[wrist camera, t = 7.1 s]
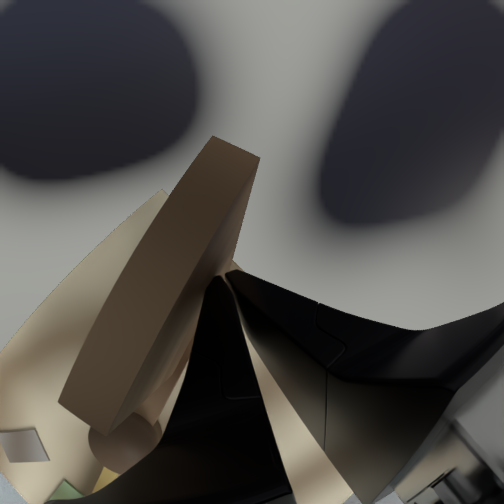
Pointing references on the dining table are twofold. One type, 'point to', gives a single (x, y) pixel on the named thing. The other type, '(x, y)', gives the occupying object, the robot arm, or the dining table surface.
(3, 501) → the dining table surface
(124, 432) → the brown piece
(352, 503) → the dining table surface
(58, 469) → the dial board
